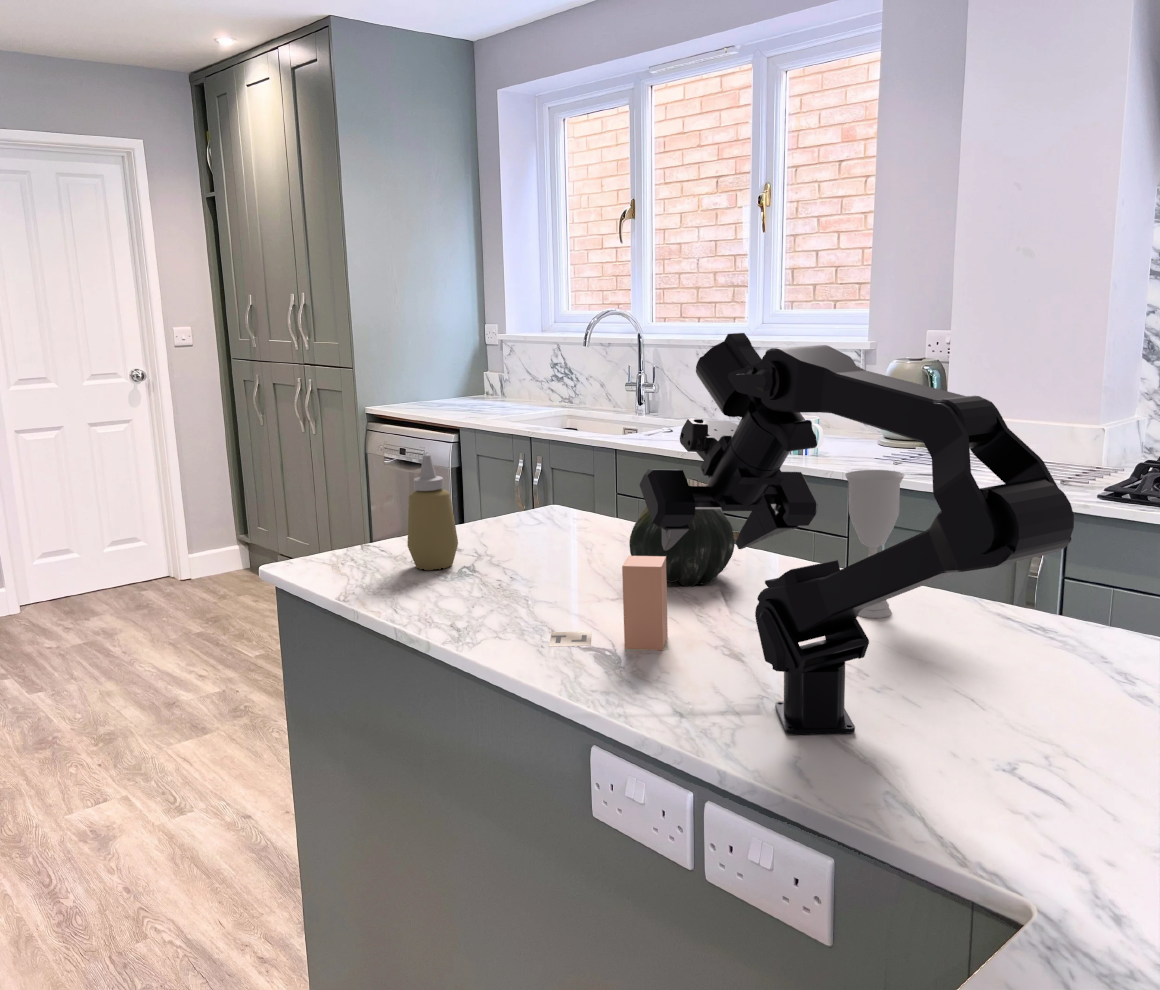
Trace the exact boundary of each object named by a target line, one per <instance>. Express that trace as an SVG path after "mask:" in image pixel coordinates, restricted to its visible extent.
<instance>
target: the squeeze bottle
mask: <svg viewBox="0 0 1160 990" xmlns="http://www.w3.org/2000/svg"><path fill="white" fill-rule="evenodd" d="M431 456H432V455H430V454H424V455H422V459H421V460H422V461H421V467H420V473H419V474H420V475H419V476H418V477H415V478H413V488H414V491H412V492H411V493H410V494H409V495H408V515H407V516H408V517H407V548H408V551H409V553H410V556H411V558H412V561H413V563H414V565H415V567H416V568H417V569H418V568H419V570H422V569H424V570H425V571H434V570H433V569H439V570H442V569H441V568H443V569H447V568H450V567H451V566H452V565H453V564H454V560H455V557H456V554H457V549H458V546H459V539H458V534H457V532H458V531H457V528H456V522H455V516H454V509H453V503H452V497H451V493H450V492H449V491H448V490H447V489H443V488H444V484H445V483H444V477H443V476H439V475H437V473H436V470H435V467H434V464H433V460H432V457H431ZM449 566H450V567H449Z"/></svg>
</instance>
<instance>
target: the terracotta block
mask: <svg viewBox="0 0 1160 990" xmlns="http://www.w3.org/2000/svg"><path fill="white" fill-rule="evenodd" d="M621 570H622V600H623V601H622V603H623V607H622V608H623V609H622V610H623V630H624V631H623V635H624V642H623V643H624V650H625V649H645V650H644V651H664V650H663V649H664V646H665V643H666V640H667V641H668V634H669V633H668V632H669V631H668V630H669V629H668V593H667V592H668V591H667V590H668V587H667V585H668V584H667V582H668V581H667V580H666V556H631V555H627V557H626V559H625V561H624V562H623V564H622V567H621Z"/></svg>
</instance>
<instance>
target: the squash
mask: <svg viewBox="0 0 1160 990" xmlns="http://www.w3.org/2000/svg"><path fill="white" fill-rule="evenodd" d="M688 525H689V530H688V531H687V532H686V533H685V534H684V535H683V536H682V537H681V538H680V539H679V540H678V541H677V542H676V543H675V544H674V546H672V547H671V548H670V549H669V550H664V549H663V546H662V527H659V526H657V525H656V524H654V523H653V522H652V520H651V517H650V514H649V511H648V508H647V506H645V508H644V510H642V512H641V513H640V516H639V518H637V520H636V521H635V524H634V525H633V528H632V530H631V533H630V536H629V552H630V556H666V581H667V582H669V583H674V582H676V581H678V582H679V583H680V584H681V585H683V586H685V587H689V588H690V587H694V586H695V585H697V584H698V585H705V584H709V583H711V582H712V581H714V580H715V579H716V578H717V576H719V575H720V573H722V571H723V570H725V568H726V566H727V565H728V564H729V562H730V561H731V559H732V557H733V554H734V551H735V550H734V549H735V535H734V529H733V527H732V524H731V522H730V520H729V519H728V518H727V516H726V515H725V514H724V511H722V509H695V516H694V518H693V520H692V521H691V522H690V523H688Z"/></svg>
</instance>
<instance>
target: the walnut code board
mask: <svg viewBox="0 0 1160 990" xmlns="http://www.w3.org/2000/svg"><path fill="white" fill-rule="evenodd" d="M592 633H593V631H592V630H589V631H588V630H583V631H579V630H578V631H551V633H550V638H549V644H548V645H549V646H548V647H550V648H552V647H584V646H585V647H587V646H589V647H590V646H592V637H593V634H592ZM668 645H669V644H668V639H667V640H666V643H665V646H664V649H663V650H662V651H669V647H668ZM624 650H625V652H631V651H632V652H633V651H635V652H636V651H638V652H639V651H646V650H645V649H625V648H624Z"/></svg>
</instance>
